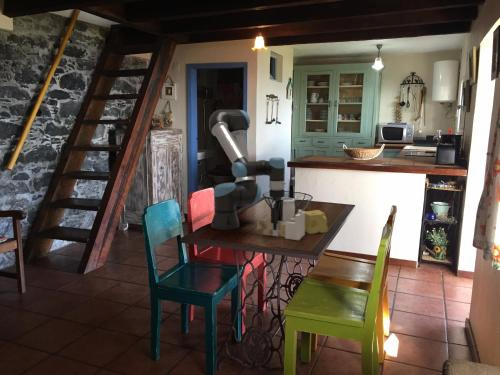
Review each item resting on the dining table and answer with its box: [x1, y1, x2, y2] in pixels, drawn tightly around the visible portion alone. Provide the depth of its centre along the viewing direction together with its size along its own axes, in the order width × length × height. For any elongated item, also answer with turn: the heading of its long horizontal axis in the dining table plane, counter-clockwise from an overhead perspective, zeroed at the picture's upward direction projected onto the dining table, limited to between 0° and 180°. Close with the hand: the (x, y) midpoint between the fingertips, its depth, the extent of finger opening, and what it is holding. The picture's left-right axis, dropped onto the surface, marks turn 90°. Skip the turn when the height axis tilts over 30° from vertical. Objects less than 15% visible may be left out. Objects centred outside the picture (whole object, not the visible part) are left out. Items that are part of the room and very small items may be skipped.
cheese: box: [305, 209, 328, 235], centre depth 218 cm, size 10×11×10 cm
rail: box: [256, 220, 285, 238], centre depth 211 cm, size 20×4×6 cm, turn 68°
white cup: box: [281, 196, 296, 223], centre depth 229 cm, size 11×10×15 cm
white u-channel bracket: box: [284, 209, 306, 241], centre depth 207 cm, size 7×11×14 cm, turn 158°
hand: (277, 234), depth 212 cm, fingers open, 4 cm apart
